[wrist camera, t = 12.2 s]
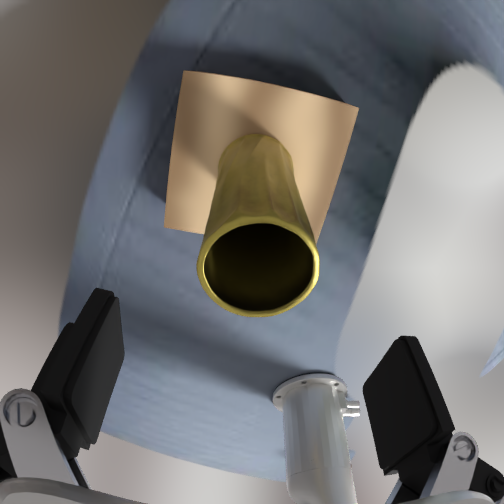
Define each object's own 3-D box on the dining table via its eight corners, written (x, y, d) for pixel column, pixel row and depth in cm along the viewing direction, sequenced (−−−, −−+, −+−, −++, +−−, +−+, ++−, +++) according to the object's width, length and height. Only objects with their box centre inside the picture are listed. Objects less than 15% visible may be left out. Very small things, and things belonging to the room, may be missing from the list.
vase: (306, 155, 25) (359, 247, 13) (270, 215, 28) (283, 340, 15) (239, 120, 23) (223, 178, 11) (206, 185, 26) (166, 296, 14)
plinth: (345, 103, 26) (358, 108, 22) (306, 233, 33) (312, 253, 30) (193, 70, 24) (183, 70, 21) (173, 209, 32) (164, 227, 28)
